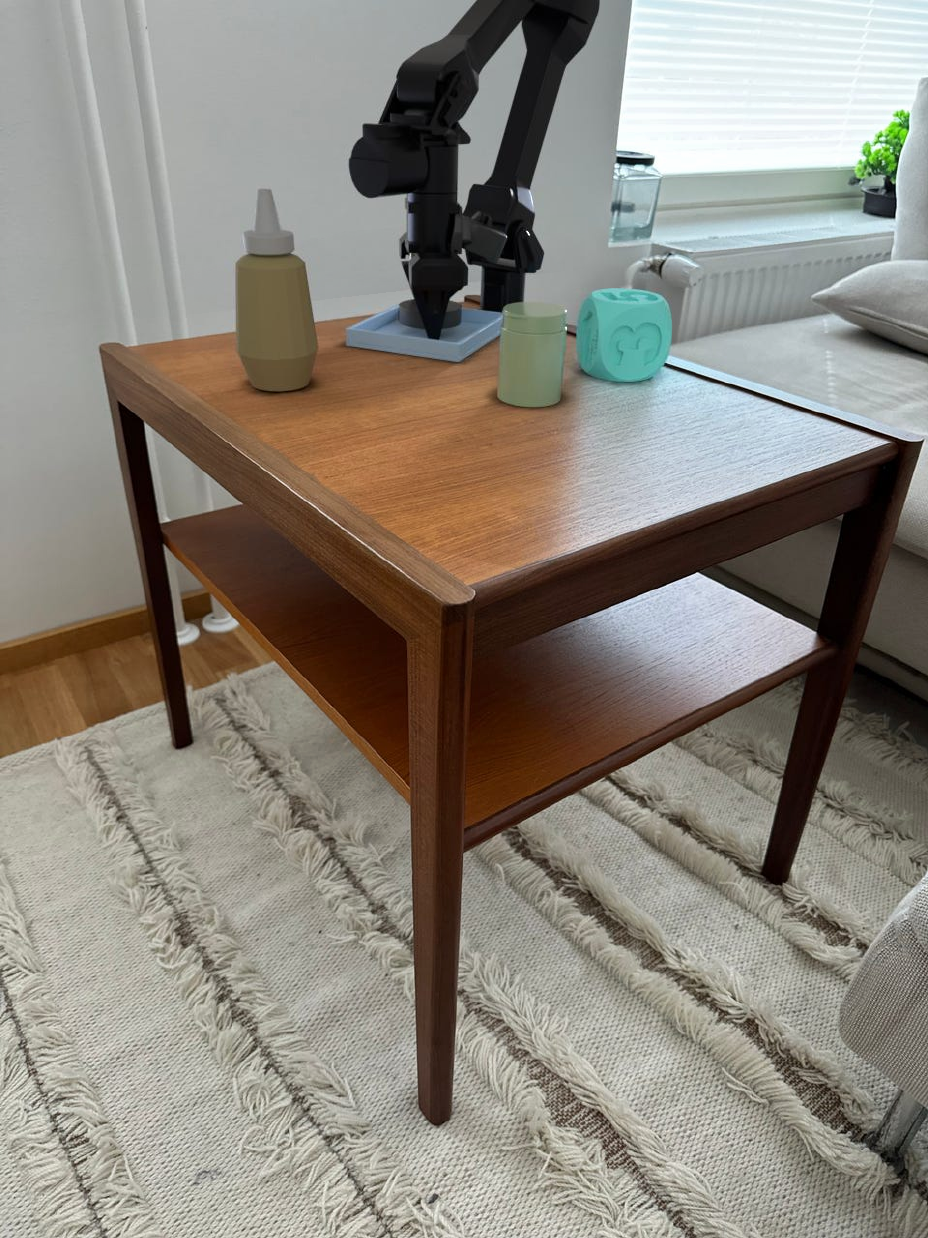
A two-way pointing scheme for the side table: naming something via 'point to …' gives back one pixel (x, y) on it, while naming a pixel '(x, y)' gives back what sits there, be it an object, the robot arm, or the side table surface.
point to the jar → (531, 354)
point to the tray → (402, 339)
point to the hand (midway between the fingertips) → (430, 333)
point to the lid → (413, 319)
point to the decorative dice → (623, 334)
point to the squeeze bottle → (273, 305)
